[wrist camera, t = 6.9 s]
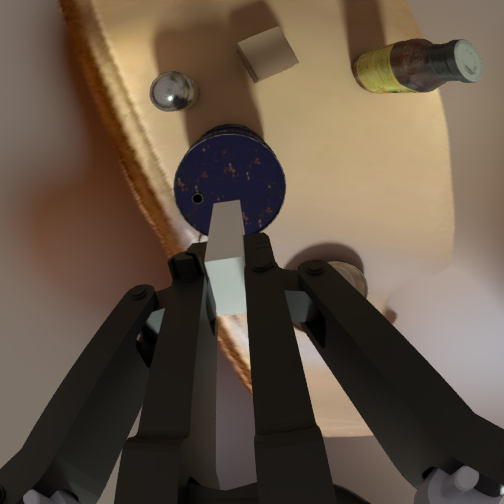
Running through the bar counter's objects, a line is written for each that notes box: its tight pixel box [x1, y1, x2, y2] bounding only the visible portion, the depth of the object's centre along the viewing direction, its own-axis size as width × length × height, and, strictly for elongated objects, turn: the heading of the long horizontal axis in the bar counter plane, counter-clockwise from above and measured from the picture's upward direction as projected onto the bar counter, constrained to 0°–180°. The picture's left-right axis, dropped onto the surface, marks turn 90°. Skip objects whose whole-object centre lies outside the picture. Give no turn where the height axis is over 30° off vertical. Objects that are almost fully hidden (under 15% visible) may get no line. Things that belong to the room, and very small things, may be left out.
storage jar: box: [174, 124, 286, 237], centre depth 31 cm, size 10×10×15 cm
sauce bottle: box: [353, 39, 483, 94], centre depth 24 cm, size 7×6×20 cm
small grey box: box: [237, 26, 299, 83], centre depth 29 cm, size 5×5×6 cm
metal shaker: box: [150, 71, 199, 112], centre depth 29 cm, size 5×5×9 cm
